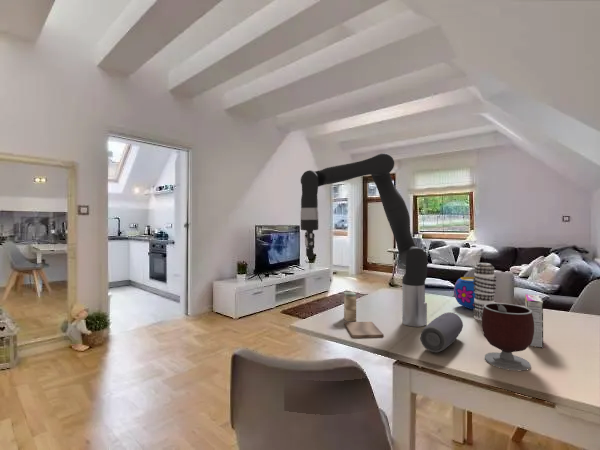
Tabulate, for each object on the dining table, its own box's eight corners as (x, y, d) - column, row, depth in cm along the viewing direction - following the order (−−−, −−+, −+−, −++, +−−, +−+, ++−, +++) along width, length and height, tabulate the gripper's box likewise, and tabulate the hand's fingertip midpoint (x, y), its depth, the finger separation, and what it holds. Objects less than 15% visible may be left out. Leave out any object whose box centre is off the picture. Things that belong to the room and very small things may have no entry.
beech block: (353, 317, 151) (353, 291, 150) (356, 321, 146) (356, 294, 145) (344, 317, 150) (344, 291, 150) (346, 321, 145) (346, 294, 145)
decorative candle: (499, 322, 143) (499, 265, 143) (476, 320, 145) (476, 264, 145) (491, 316, 152) (491, 262, 152) (470, 315, 154) (470, 262, 154)
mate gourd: (489, 349, 113) (490, 292, 113) (538, 362, 103) (539, 299, 102) (473, 363, 102) (473, 299, 102) (526, 379, 92) (526, 308, 92)
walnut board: (371, 323, 142) (371, 321, 141) (383, 337, 126) (383, 334, 126) (344, 324, 141) (344, 322, 141) (352, 337, 125) (352, 335, 125)
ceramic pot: (492, 315, 154) (492, 283, 154) (451, 309, 163) (451, 279, 163) (493, 306, 169) (493, 277, 168) (455, 302, 178) (455, 274, 178)
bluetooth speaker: (438, 334, 129) (438, 308, 129) (464, 339, 123) (464, 313, 123) (418, 352, 111) (418, 323, 111) (447, 359, 105) (447, 328, 105)
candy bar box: (524, 336, 126) (524, 293, 126) (540, 338, 123) (541, 295, 123) (526, 345, 116) (526, 299, 116) (543, 348, 114) (544, 301, 113)
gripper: (320, 218, 131) (320, 259, 131) (316, 218, 145) (316, 255, 146) (301, 218, 131) (301, 259, 131) (299, 219, 145) (299, 255, 145)
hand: (309, 257), depth 138 cm, fingers open, 8 cm apart
